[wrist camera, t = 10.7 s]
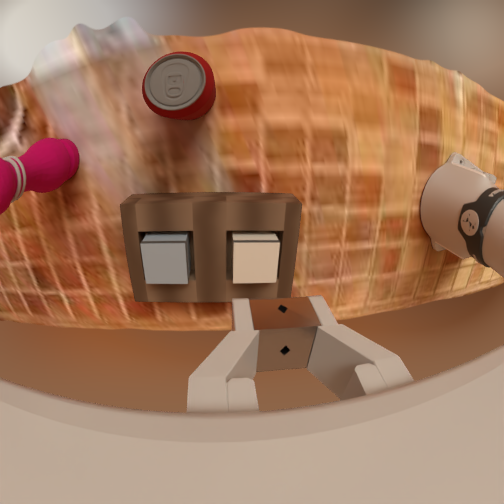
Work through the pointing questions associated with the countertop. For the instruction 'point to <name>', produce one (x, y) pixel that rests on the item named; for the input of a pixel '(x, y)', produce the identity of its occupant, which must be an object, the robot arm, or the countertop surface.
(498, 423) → the robot arm
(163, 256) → the slate key
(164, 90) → the beverage can
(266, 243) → the cream key
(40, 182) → the pepper mill
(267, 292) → the frame
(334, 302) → the countertop surface
